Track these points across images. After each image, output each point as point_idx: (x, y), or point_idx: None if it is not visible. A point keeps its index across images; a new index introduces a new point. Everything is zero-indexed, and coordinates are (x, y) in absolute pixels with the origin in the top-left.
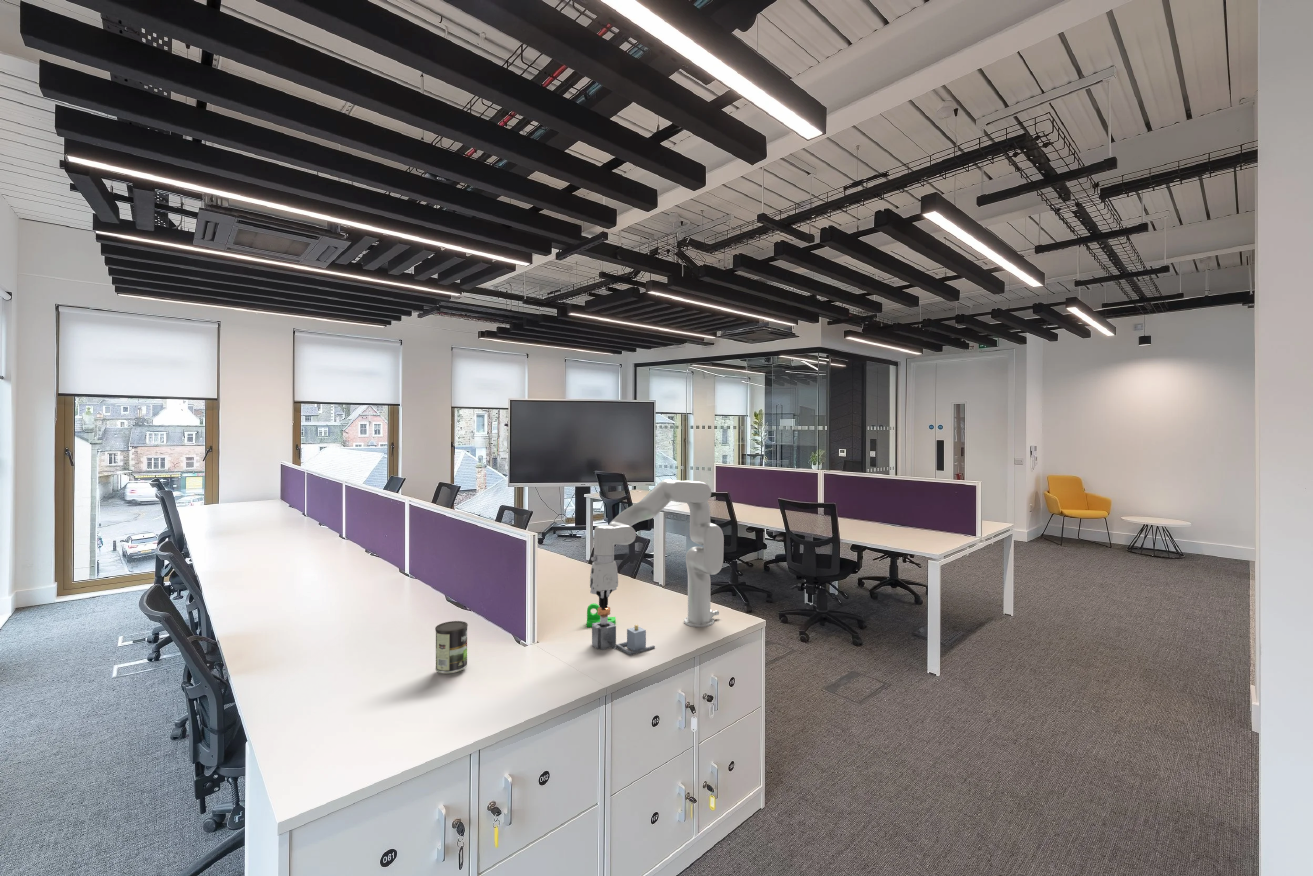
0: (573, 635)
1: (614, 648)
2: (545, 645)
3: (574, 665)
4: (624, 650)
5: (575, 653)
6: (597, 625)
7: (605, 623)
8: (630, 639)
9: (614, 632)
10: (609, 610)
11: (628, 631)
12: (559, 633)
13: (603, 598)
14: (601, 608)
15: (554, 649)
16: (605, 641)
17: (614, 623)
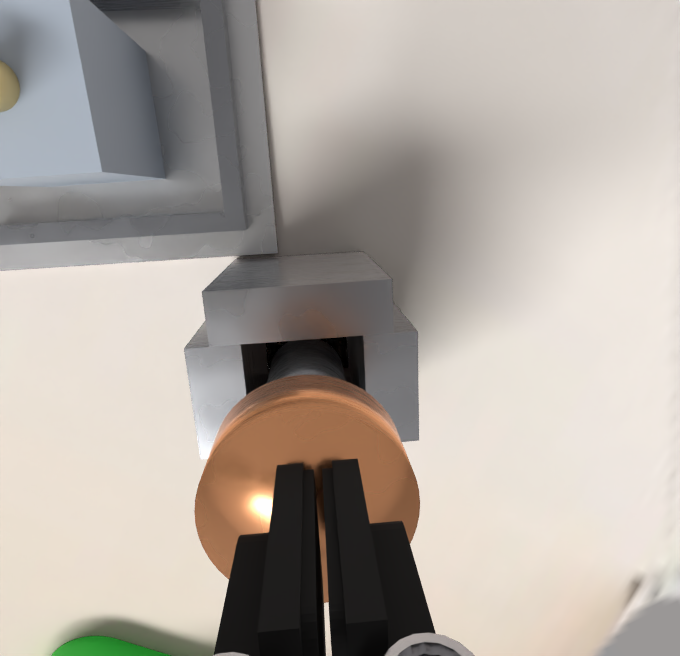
0: None
1: (265, 223)
2: (627, 520)
3: (661, 104)
4: (230, 80)
5: (544, 306)
6: None
7: (307, 368)
8: (124, 107)
9: (232, 277)
10: (245, 420)
11: (103, 141)
12: None
13: (387, 627)
14: None
15: (618, 437)
16: (335, 261)
17: (60, 652)
